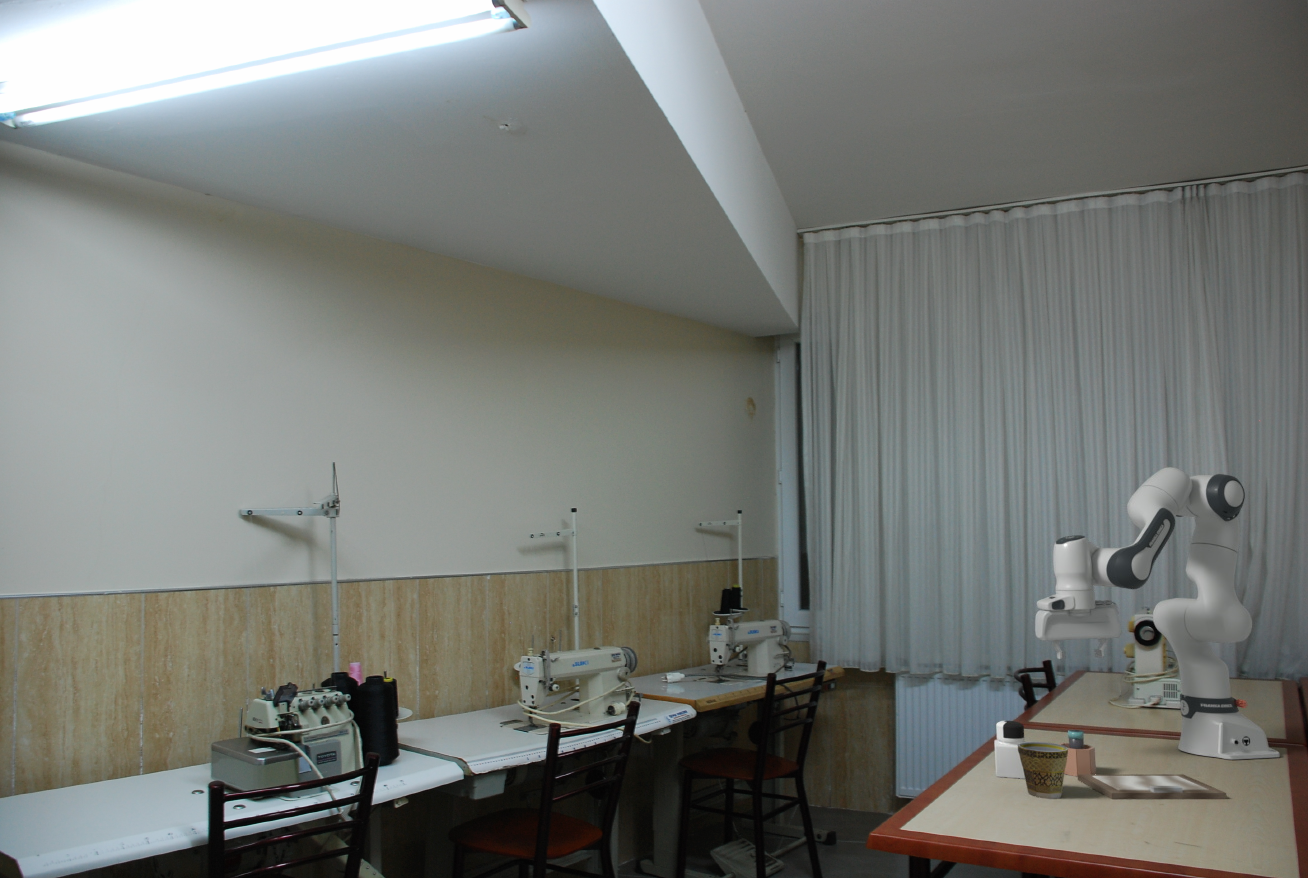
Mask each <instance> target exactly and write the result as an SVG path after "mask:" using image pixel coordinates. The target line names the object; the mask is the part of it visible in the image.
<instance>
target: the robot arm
mask: <svg viewBox="0 0 1308 878" xmlns="http://www.w3.org/2000/svg"><path fill="white" fill-rule="evenodd" d="M1245 499H1246V493H1245V489H1244V486H1243V485H1242V483H1241V481H1240V480H1239V479H1238V478H1237V477H1236V476H1233V475H1229V474H1223V473H1218V474H1197V475H1191V476H1189V475H1188V474H1187V472H1185V471H1183V470H1182V469H1181V468H1177V467H1173V466H1172V467H1170V466H1168V467H1163V468H1161V469H1159V470H1158V471H1156V472H1155V473H1154V474H1152V475H1150V477H1148V479H1146V480H1145V481H1144V482H1143V483H1141V485H1140V486H1138V488H1137V489H1136V491H1135V492H1134V493H1133V494H1132V495H1131V496H1130V498H1129V500H1128V502H1127V505H1126V510H1127V511H1126V512H1127V515H1128V517H1129V518H1130V520H1131V522H1132V523H1133V524H1134V525H1135V526H1136V527H1137V528H1139V530H1141V532H1140V533H1139V535H1138V536H1137V538H1136V539H1135V541H1134V542H1133V543H1131V544H1130V545H1127V546H1123V547H1101V546H1099V545H1096V544H1094V543H1093V542H1091V541H1089V540H1088V538H1087V536H1085V535H1080V534H1076V535H1069V536H1063V537H1061V538H1059V539H1057V540H1055V542H1054V545H1053V549H1052V550H1053V551H1052V562H1053V563H1052V564H1053V573H1054V575H1055V579H1056V581H1055V582H1056V583H1055V589H1054V590H1055V594H1052V595H1050V596H1048V597H1044V598H1042V599H1038V601H1036V608H1037V609H1039V610H1038V611H1037V612H1036V614H1035V618H1034V619H1035V621H1034V622H1035V623H1034V628H1035V629H1034V630H1035V637H1036V638H1038V640H1040V641H1043V642H1050V643H1051V646H1052V647H1053V649H1054V650H1055V652H1056V658H1057V659H1058V660H1065V659H1066V658H1067V653H1066V651H1064V650H1062V649H1061V647H1060V645H1061V641H1075V640H1078V641H1079V640H1097V643H1099V645H1098V647H1097V649H1094V657H1095V658H1104V657H1105V653H1104V651H1105V649H1106V647H1107V645H1108V642H1109V641H1108V639H1118V638H1120V637H1121V636H1122V634H1123V633H1122V627H1121V625H1122V624H1121V622H1120V616H1119V613H1120V612H1119V606H1118V604H1117V603H1116V602H1115V601H1112V600H1111V599H1104V600H1100V599H1099V600H1098V599H1097V600H1096V596H1095V587H1094V586H1096V587H1097V586H1098V587H1099V586H1100V587H1109V588H1110V587H1111V588H1112V587H1113V588H1121V589H1126V590H1127V589H1128V590H1137V589H1140V588H1142V587H1144V585H1145V584H1146V583H1147V582H1148V581H1149V579H1150V577H1151V574H1152V570H1153V567H1154V565H1155V563H1156V561H1157V559H1158V557H1159V555H1160V554H1161V553H1162V550H1163V549H1164V547H1165V546H1166V544H1167V543H1168V541H1169V539H1170V537H1171V535H1172V534H1173V532H1174V530H1175V526H1176V519H1175V518H1176V517H1177V518H1178V517H1179V518H1181V517H1188V518H1190V517H1191V518H1194V522H1195V527H1194V530H1193V534H1192V537H1191V541H1190V545H1189V550H1188V557H1187V561H1186V566H1185V573H1186V576H1187V578H1188V579H1189V580H1190V581H1192V582H1193V583H1194V584H1195V585H1196V588H1197V598H1189V597H1174V598H1167V599H1165V600H1164V599H1163V600H1161V601H1159V602H1158V603H1157V604H1156V605H1155V607H1154V609H1153V613H1152V621H1153V624H1154V626H1155V628H1156V629H1157V631H1158V632H1159V633H1161V634H1162V636H1164V638H1165V639H1166V640H1167V641H1168V643H1169V645H1170V647H1171V649H1172V650H1173V653H1174V655H1175V657H1176V660H1177V664H1178V669H1179V678H1180V690H1181V691H1180V692H1181V693H1180V694H1179V705H1180V706H1179V707H1180V714H1181V716H1182V717H1181V733H1180V738H1179V743H1178V746H1177V748H1178V750H1180V751H1182V752H1185V753H1189V754H1192V755H1199V756H1205V757H1212V758H1213V757H1214V758H1220V759H1225V760H1246V759H1250V760H1251V759H1267V758H1268V759H1269V758H1270V759H1271V758H1280V757H1281V756H1280V752H1279V751H1278V750H1276V749H1274V748H1271V747H1270V746H1269V743H1268V737H1267V735H1266V733H1265V731H1264V730H1263V729H1262V728H1261V726H1259V725H1257V724H1256V723H1255V722H1253V721H1252V720H1251V719H1249V718H1248V717H1246V716H1245V715H1244V714H1243V713H1242V712H1240V710H1239V708H1242V709H1246V708H1247V707H1248V702H1247V701H1246V700H1245V699H1241V698H1238V699H1236V698H1234V697H1233V696H1232V695H1231V693H1232V692H1231V684H1230V681H1231V680H1230V670H1229V667H1228V664H1227V663H1225V661H1223V660H1222V659H1221V658H1220V657H1218V656H1217V655H1216V653H1215V652H1214V650H1213V648H1212V646H1211V643H1215V644H1222V645H1223V644H1231V643H1232V644H1233V643H1234V644H1235V643H1241V642H1243V641H1245V640H1246V639H1248V637H1249V636H1250V634H1251V633H1252V629H1253V620H1252V616H1251V613H1250V612H1249V611H1248V610H1247V608H1246V607H1245V606H1244V605H1243V604H1242V603H1241V601H1240V600H1239V598H1238V596H1237V593H1236V588H1235V576H1236V568H1237V562H1238V556H1239V555H1238V554H1239V550H1240V540H1241V535H1240V534H1241V529H1240V528H1241V527H1240V521H1239V518H1238V516H1239V514H1240V512H1241V510H1242V508H1243V506H1244V503H1245Z"/></svg>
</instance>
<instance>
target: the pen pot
mask: <svg viewBox="0 0 1308 878" xmlns="http://www.w3.org/2000/svg"><path fill="white" fill-rule="evenodd" d="M1058 744H1059V745H1063V746H1065V747H1067V748H1068V755H1067V763H1066V767H1065V771H1064V775H1066V774H1068V775H1067V776H1072V775H1073V777H1078V775H1095V774H1096V775H1097V767H1096V766H1097V765H1096V748H1095V747H1094V746H1093V745H1090V744H1085V743H1084V749H1072V748H1069V742H1062V743H1058Z"/></svg>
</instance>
